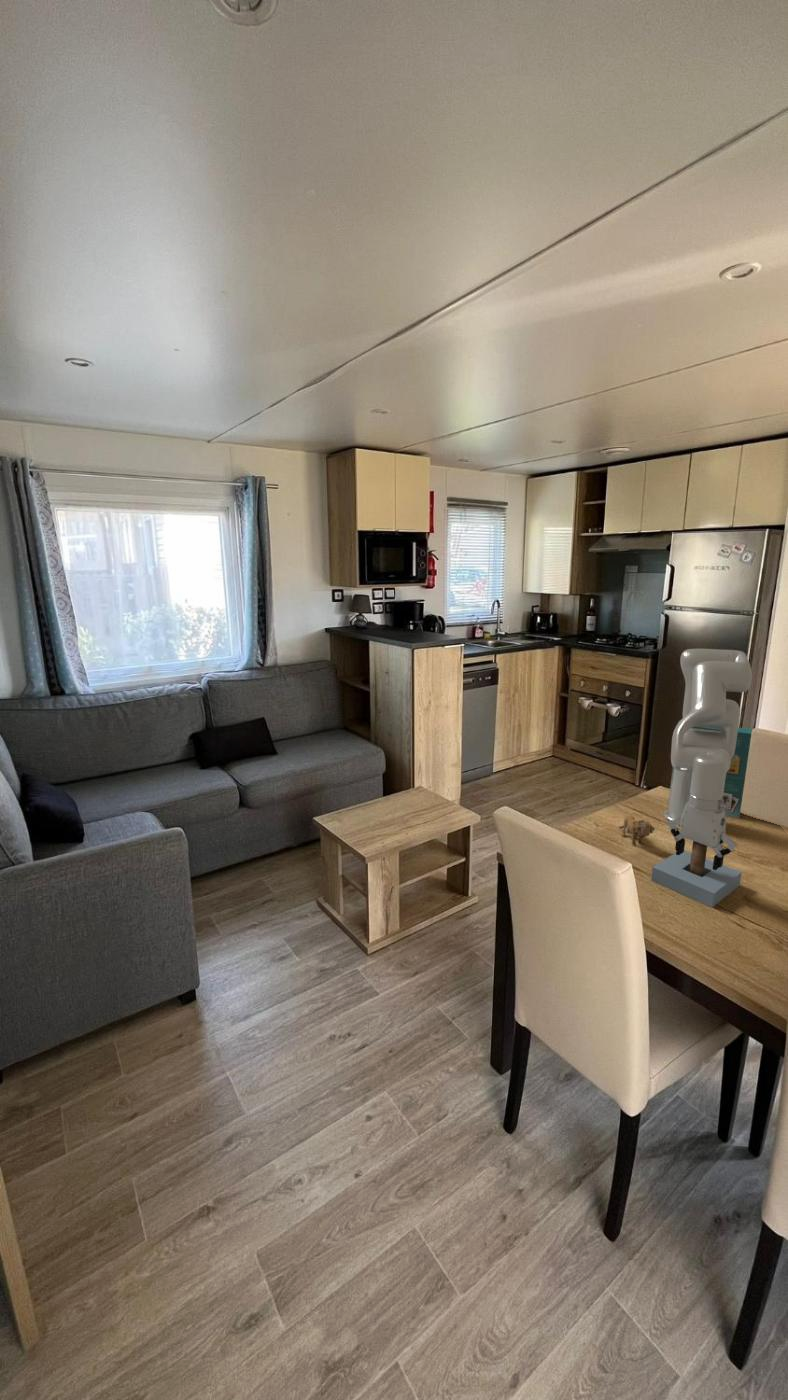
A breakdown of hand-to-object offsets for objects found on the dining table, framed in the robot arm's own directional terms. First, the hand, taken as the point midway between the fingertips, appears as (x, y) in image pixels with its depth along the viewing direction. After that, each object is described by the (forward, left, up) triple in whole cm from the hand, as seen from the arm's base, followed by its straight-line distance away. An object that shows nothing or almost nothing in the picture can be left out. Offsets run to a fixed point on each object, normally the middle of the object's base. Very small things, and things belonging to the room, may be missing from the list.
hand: (697, 860), depth 151 cm
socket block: (0, 0, -7) cm, 7 cm away
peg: (0, 0, -7) cm, 7 cm away
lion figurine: (-10, -23, -7) cm, 26 cm away
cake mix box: (-51, -21, -7) cm, 55 cm away
